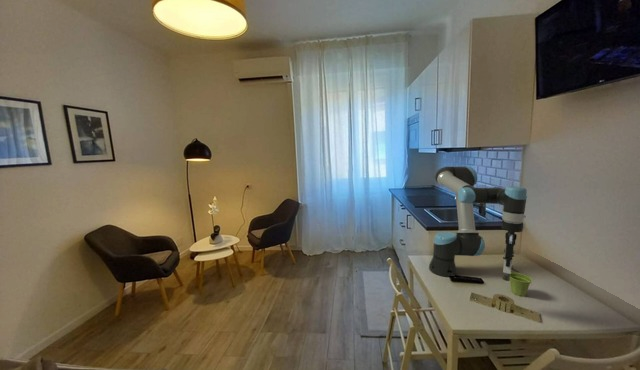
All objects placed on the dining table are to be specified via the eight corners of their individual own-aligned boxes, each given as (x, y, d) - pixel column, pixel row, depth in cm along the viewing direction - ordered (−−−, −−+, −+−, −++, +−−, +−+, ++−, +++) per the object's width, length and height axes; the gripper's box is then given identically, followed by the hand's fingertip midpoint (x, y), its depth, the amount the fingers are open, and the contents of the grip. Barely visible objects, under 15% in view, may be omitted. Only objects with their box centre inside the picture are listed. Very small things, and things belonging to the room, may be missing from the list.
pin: (500, 279, 115) (503, 250, 113) (501, 276, 118) (504, 248, 116) (511, 282, 112) (514, 252, 111) (511, 279, 115) (514, 250, 114)
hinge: (469, 300, 122) (470, 293, 121) (471, 293, 128) (472, 286, 128) (540, 323, 106) (541, 314, 106) (538, 313, 113) (539, 305, 112)
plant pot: (524, 300, 122) (526, 283, 121) (502, 290, 131) (504, 275, 129) (533, 295, 127) (535, 279, 125) (512, 286, 135) (514, 271, 134)
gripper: (524, 227, 103) (517, 280, 106) (522, 219, 115) (517, 267, 118) (501, 223, 107) (496, 275, 111) (502, 216, 120) (497, 263, 123)
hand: (506, 271), depth 115 cm, fingers closed on pin, 2 cm apart
